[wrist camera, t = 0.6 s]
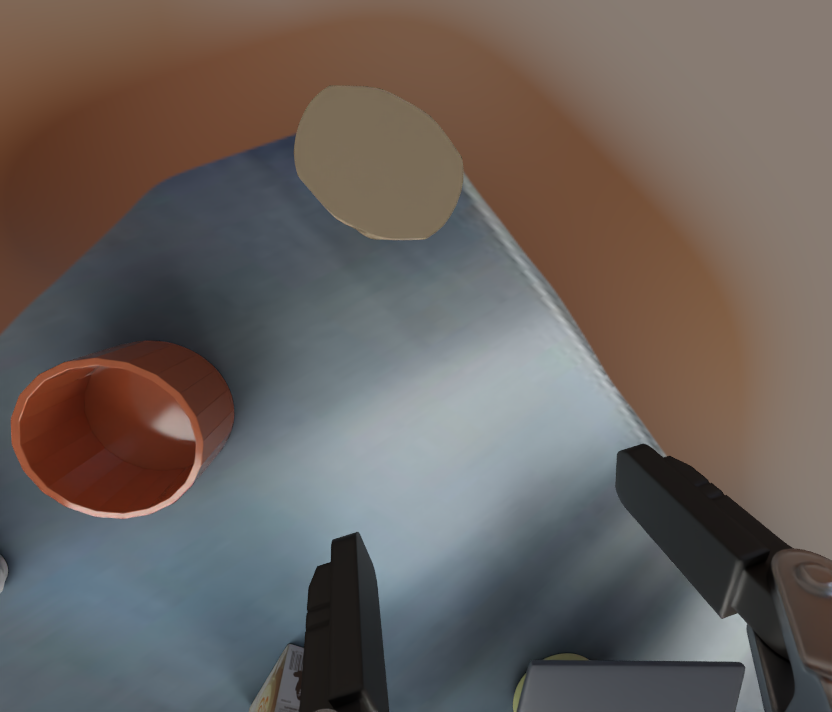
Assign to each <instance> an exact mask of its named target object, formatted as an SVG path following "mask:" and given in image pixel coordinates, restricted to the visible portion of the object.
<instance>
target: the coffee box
mask: <svg viewBox="0 0 832 712" xmlns="http://www.w3.org/2000/svg"><path fill="white" fill-rule="evenodd" d="M303 655H304V648H302V647H298V646H295V645H292V644H288V645H287V646H286V648H285V650H284V651H283V653H282V654H281V656H280V658H279V659H278V661H277V663H276V664H275V666H274V668H273V669H272V671H271V673H270V674H269V676H268V678H267V679H266V681H265V683H264V684H263V686H262V688H261V690H260V691H259V693H258V695H257V696H256V698H255V700H254V701H253V703H252V705H251V706H250V709H249V712H299V706H300V695H301V682H302V669H303Z"/></svg>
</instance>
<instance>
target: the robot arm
mask: <svg viewBox="0 0 832 712" xmlns="http://www.w3.org/2000/svg"><path fill="white" fill-rule="evenodd" d="M615 488H616V492H617V495H618V497H619V499H620V501H621V503H622V504H623V506H624V507H625V508H626V509H627V510H628V512H629V513H630V514H631V515H632V516H633V517H634V518H635V520H636V521H637V522H638V523H639V524H640V525H641V526H642V528H643V529H644V530H645V531H646V532H647V533H648V535H649V536H650V537H651V538H652V539H653V540H654V541H655V543H656V544H657V545H658V546H659V547H660V548H661V550H662V551H663V552H664V553H665V554H666V555H667V556H668V558H669V559H670V560H671V561H672V562H673V563H674V564H675V566H676V567H677V568H678V569H679V570H680V571H681V573H682V574H683V575H684V576H685V577H686V578H687V579H688V581H689V582H690V583H691V584H692V585H693V586H694V588H695V589H696V590H697V591H698V592H699V593H700V594H701V596H702V597H703V598H704V599H705V600H706V601H707V602H708V604H709V605H710V606H711V607H712V608H713V609H714V611H715V612H716V613H717V614H718V615H719V616H720V617H721V619H723V618H725V617H728V616H731V615H734V614H737V613H738V614H739V615H740V616H741V617H742V618H743V619H744V620H745V621H746V623H747V635H748V639H749V644H750V648H751V653H752V657H753V662H754V666H755V671H756V675H757V680H758V684H759V689H760V693H761V698H762V702H763V707H764V711H765V712H832V561H831V560H830V559H828V558H826V557H823V556H821V555H819V554H816V553H813V552H810V551H806V550H800V549H794V548H792V547H790V546H789V545H787V544H786V543H785V542H783V541H782V540H781V539H780V538H778V537H777V536H776V535H775V534H773V533H772V532H771V531H770V530H769V529H767V528H766V527H765V526H764V525H762V524H761V523H760V522H759V521H758V520H756V519H755V518H754V517H753V516H751V515H750V514H749V513H748V512H747V511H745V510H744V509H743V508H742V507H740V506H739V505H738V504H737V503H736V502H734V501H733V500H732V499H731V498H730V497H728V496H727V495H724V494H723V492H722V491H721V490H720V489H719V488H717V487H716V486H715V485H714V484H712V483H709V481H708V480H707V479H706V478H705V477H704V476H703V475H701V474H700V473H699V472H698V471H696V470H695V469H694V468H693V467H691V466H690V465H688V464H686V463H684V462H682V461H679V460H677V459H675V458H673V457H671V456H667V457H664V458H663V457H662V456H661V455H660V454H658V453H657V452H656V451H655V450H654V449H653V448H651V447H650V446H648V445H646V444H640V445H637V446H634V447H631V448H627V449H624V450H621V451H619V452H618V454H617V464H616V482H615ZM307 611H308V613H307V616H306V632H305V642H304V655H303V669H302V682H301V695H300V706H299V712H389V704H388V693H387V683H386V672H385V661H384V650H383V640H382V629H381V618H380V608H379V597H378V587H377V579H376V574H375V570H374V566H373V563H372V561H371V559H370V556H369V554H368V552H367V549H366V547H365V545H364V543H363V540H362V538H361V536H360V534H359V532H356V533H352V534H349V535H346V536H343V537H340V538H336V539H333V540H332V544H331V562H329V563H326V564H323V565H320V566H317V568H316V571H315V573H314V576H313V578H312V580H311V583H310V585H309V589H308V602H307Z"/></svg>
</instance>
